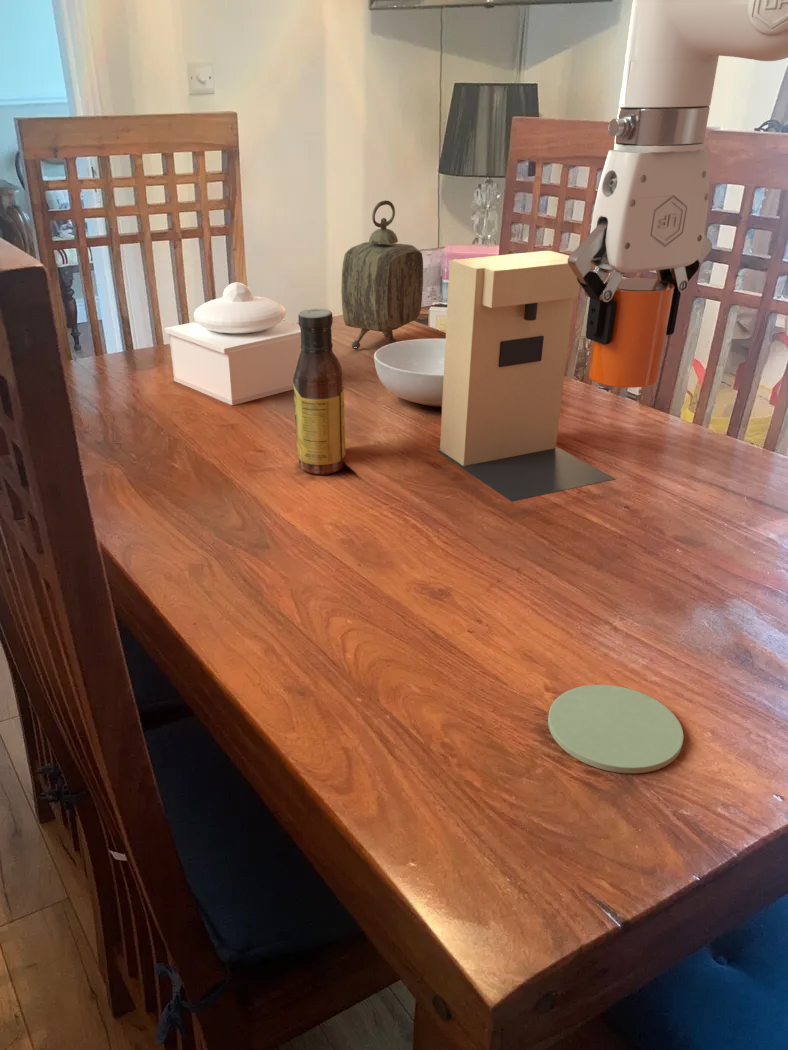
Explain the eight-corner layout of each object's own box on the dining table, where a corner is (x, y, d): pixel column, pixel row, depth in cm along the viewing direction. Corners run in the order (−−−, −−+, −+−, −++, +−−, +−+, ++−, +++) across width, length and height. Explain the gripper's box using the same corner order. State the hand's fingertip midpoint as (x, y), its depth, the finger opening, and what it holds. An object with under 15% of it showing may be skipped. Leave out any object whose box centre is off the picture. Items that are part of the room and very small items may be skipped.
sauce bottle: (316, 455, 116) (312, 302, 106) (355, 465, 113) (354, 308, 103) (286, 471, 111) (279, 313, 101) (325, 481, 108) (322, 320, 98)
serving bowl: (495, 426, 125) (499, 379, 121) (357, 413, 130) (357, 368, 127) (516, 384, 141) (520, 342, 138) (393, 374, 147) (394, 333, 144)
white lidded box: (319, 382, 144) (316, 282, 135) (229, 406, 134) (220, 300, 126) (257, 360, 155) (252, 267, 147) (170, 381, 145) (159, 282, 137)
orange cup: (628, 364, 91) (641, 274, 86) (673, 381, 86) (690, 286, 81) (574, 373, 89) (585, 281, 84) (617, 391, 83) (632, 294, 79)
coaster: (622, 678, 72) (623, 672, 72) (711, 750, 64) (713, 744, 64) (522, 709, 69) (523, 703, 69) (603, 789, 61) (604, 783, 61)
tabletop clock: (384, 334, 170) (386, 195, 157) (423, 340, 166) (429, 198, 153) (341, 350, 160) (340, 204, 147) (382, 358, 156) (385, 207, 143)
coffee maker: (435, 461, 114) (445, 260, 101) (531, 443, 119) (552, 250, 106) (510, 513, 100) (532, 288, 87) (614, 490, 105) (650, 274, 92)
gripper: (607, 137, 70) (580, 357, 79) (768, 128, 76) (725, 334, 85) (552, 134, 76) (533, 338, 85) (705, 126, 82) (672, 318, 91)
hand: (629, 335), depth 85 cm, fingers closed on orange cup, 6 cm apart
